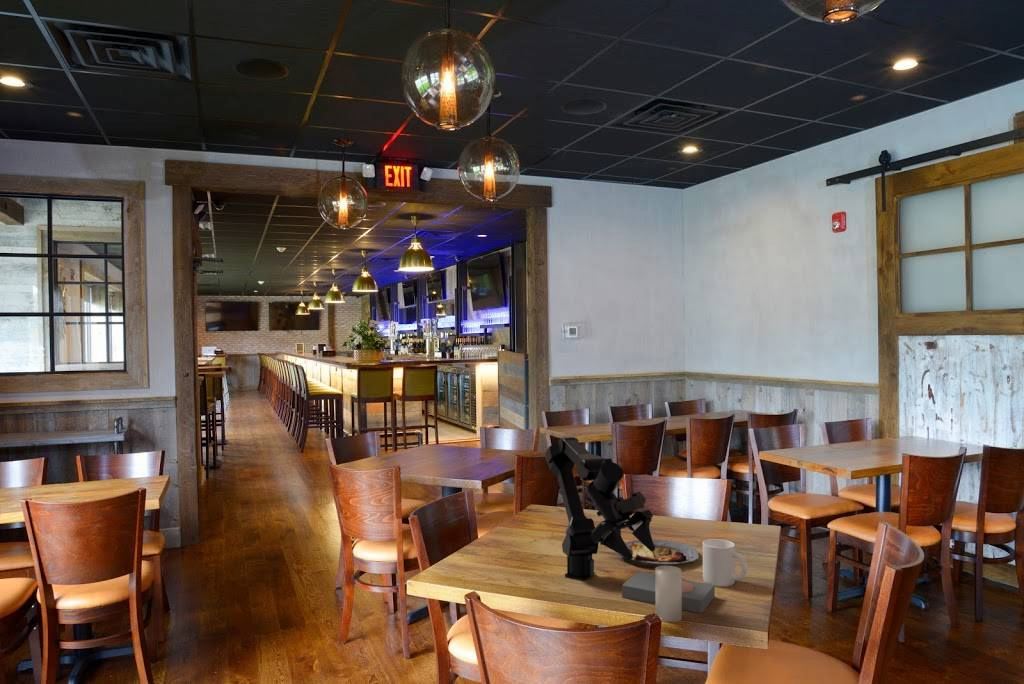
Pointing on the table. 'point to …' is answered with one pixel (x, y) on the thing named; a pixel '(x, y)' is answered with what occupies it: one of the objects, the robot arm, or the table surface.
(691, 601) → the plinth
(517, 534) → the table surface
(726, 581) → the mug
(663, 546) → the food plate
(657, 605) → the canister
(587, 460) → the robot arm
